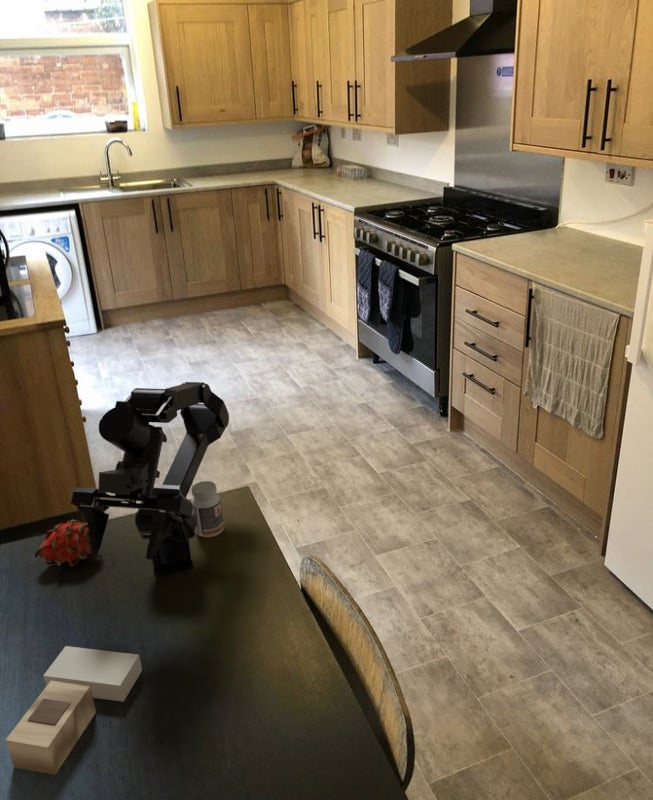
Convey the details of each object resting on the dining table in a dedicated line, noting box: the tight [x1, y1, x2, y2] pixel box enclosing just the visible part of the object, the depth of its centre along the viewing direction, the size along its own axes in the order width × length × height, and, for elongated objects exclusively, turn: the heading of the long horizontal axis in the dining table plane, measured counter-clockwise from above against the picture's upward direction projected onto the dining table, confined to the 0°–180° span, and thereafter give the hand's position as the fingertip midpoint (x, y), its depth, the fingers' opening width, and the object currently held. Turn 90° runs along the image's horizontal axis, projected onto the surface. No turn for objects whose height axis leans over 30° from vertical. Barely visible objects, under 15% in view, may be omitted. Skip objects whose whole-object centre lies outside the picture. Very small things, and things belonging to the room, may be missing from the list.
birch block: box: [5, 681, 97, 776], centre depth 93 cm, size 5×6×10 cm
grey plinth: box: [42, 645, 143, 703], centre depth 102 cm, size 6×12×3 cm, turn 78°
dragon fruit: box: [34, 519, 92, 567], centre depth 130 cm, size 8×8×12 cm
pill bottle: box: [190, 480, 225, 538], centre depth 136 cm, size 6×6×10 cm
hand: (121, 557), depth 109 cm, fingers open, 9 cm apart
